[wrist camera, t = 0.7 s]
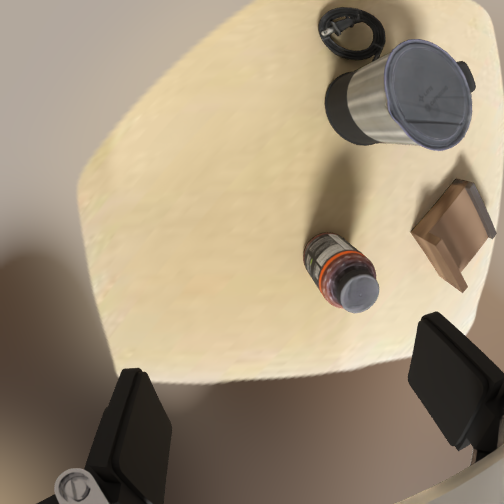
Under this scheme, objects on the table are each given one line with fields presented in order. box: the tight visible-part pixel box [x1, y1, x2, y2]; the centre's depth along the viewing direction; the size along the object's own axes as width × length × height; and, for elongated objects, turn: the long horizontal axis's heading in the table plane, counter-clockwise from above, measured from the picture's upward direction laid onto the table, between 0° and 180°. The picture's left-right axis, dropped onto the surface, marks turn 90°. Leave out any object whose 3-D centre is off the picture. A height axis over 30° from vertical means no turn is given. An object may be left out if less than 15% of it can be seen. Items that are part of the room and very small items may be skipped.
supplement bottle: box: [303, 233, 379, 313], centre depth 31 cm, size 6×6×11 cm
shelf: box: [411, 179, 497, 293], centre depth 34 cm, size 12×10×6 cm
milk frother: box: [319, 7, 476, 151], centre depth 23 cm, size 14×16×15 cm
